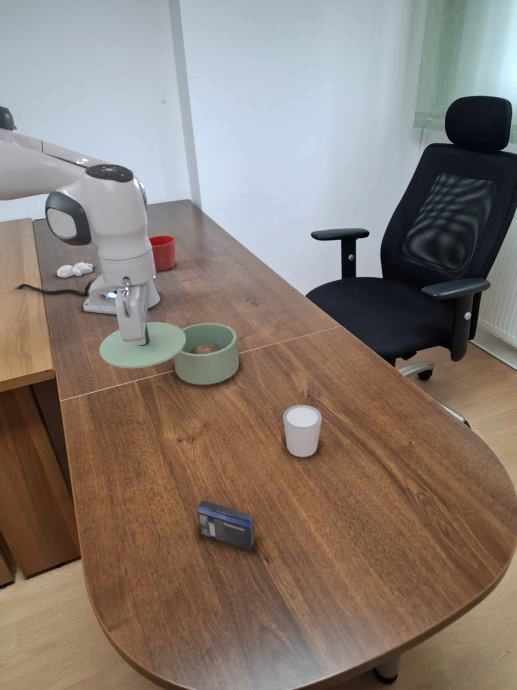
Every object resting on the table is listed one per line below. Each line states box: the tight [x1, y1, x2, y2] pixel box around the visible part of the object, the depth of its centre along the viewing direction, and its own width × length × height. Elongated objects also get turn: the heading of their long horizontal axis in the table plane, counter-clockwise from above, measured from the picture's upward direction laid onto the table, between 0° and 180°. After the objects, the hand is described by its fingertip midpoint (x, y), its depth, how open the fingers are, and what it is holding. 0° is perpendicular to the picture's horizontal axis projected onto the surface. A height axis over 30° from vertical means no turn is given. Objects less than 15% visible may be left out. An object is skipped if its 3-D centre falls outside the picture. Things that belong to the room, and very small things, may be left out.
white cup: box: [282, 404, 323, 458], centre depth 83 cm, size 7×7×7 cm
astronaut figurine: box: [56, 261, 94, 279], centre depth 162 cm, size 9×12×3 cm
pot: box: [173, 322, 240, 386], centre depth 106 cm, size 15×15×8 cm
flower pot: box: [148, 235, 176, 272], centre depth 162 cm, size 11×11×10 cm
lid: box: [98, 321, 186, 369], centre depth 85 cm, size 16×16×6 cm
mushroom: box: [191, 345, 221, 354], centre depth 106 cm, size 8×8×6 cm
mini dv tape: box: [197, 499, 256, 551], centre depth 68 cm, size 8×2×6 cm, turn 69°
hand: (142, 337), depth 86 cm, fingers closed on lid, 2 cm apart
